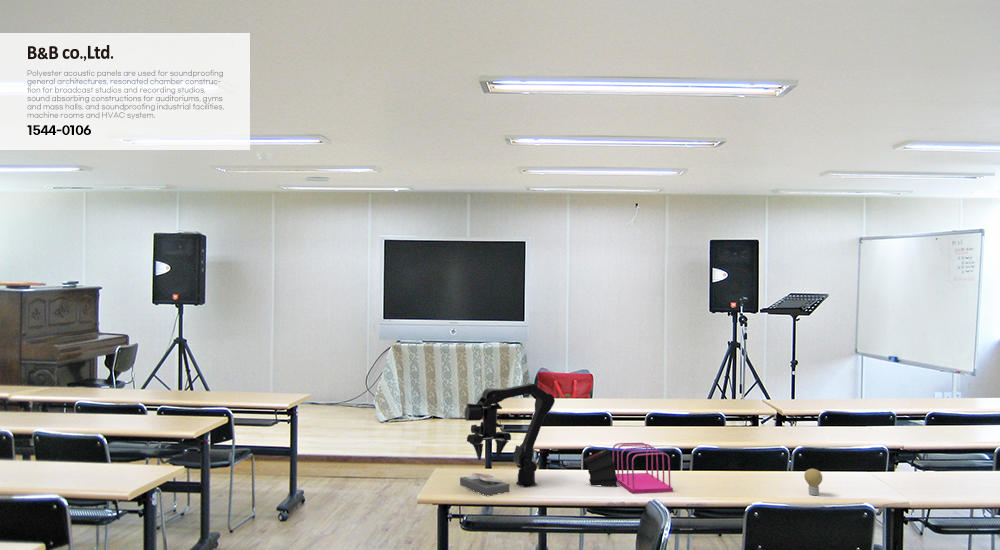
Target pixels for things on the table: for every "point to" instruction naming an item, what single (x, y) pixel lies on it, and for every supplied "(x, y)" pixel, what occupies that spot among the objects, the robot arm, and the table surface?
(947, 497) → the table surface
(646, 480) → the file sorter
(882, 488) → the table surface
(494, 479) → the rocker
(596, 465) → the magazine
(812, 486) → the light bulb
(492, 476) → the rocker
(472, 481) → the rocker switch panel
